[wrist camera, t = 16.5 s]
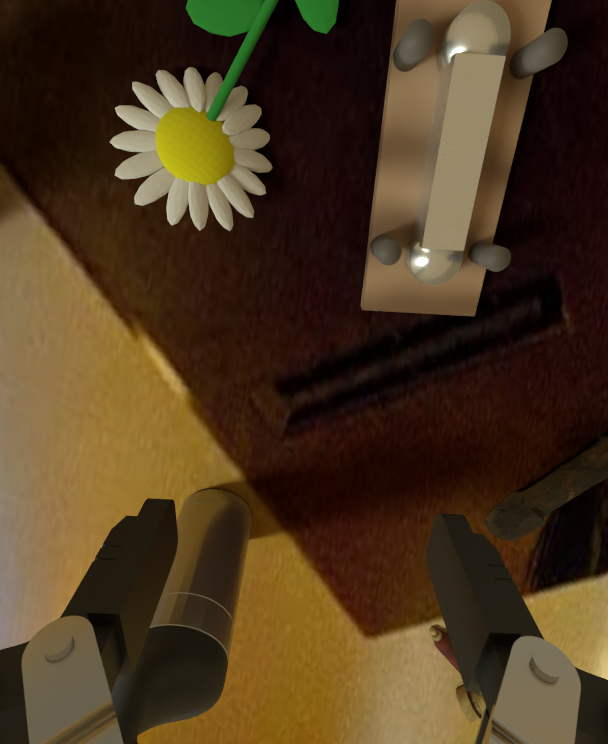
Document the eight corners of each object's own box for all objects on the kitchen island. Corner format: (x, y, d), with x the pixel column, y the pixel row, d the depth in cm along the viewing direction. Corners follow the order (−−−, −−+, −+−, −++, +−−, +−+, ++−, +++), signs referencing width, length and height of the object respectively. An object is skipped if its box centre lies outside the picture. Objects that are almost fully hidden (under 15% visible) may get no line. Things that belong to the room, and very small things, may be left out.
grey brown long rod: (611, 420, 46) (641, 443, 42) (626, 441, 47) (658, 466, 43) (471, 505, 51) (485, 534, 47) (488, 523, 53) (503, 552, 48)
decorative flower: (287, -235, 27) (98, 173, 34) (293, -329, 22) (74, 165, 29) (427, -85, 30) (230, 257, 37) (457, -140, 26) (226, 262, 33)
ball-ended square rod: (502, 16, 29) (525, -4, 26) (447, 280, 37) (460, 289, 34) (442, 12, 29) (459, -9, 26) (401, 278, 37) (409, 286, 34)
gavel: (406, 656, 60) (466, 631, 57) (400, 627, 64) (456, 602, 61) (474, 728, 65) (532, 707, 63) (465, 696, 69) (518, 676, 67)
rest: (469, 311, 40) (491, 329, 35) (360, 305, 40) (368, 322, 35) (549, -31, 29) (599, -75, 24) (401, -41, 29) (420, -88, 24)
